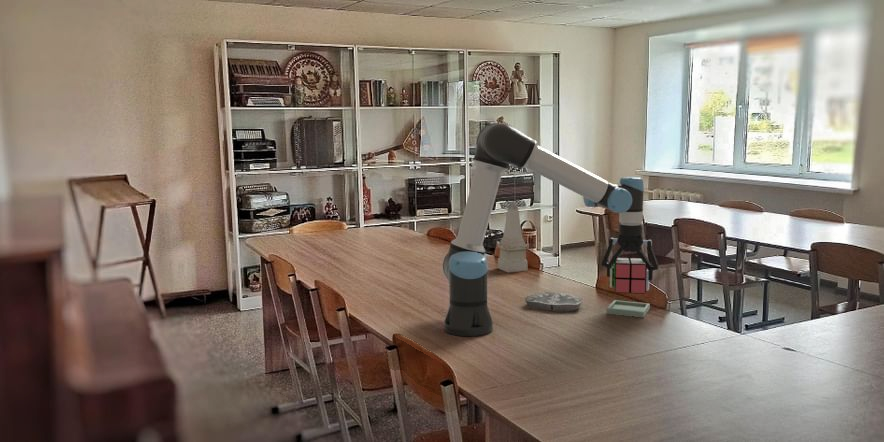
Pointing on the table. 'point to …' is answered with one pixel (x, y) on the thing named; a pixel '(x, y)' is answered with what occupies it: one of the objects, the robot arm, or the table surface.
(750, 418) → the table surface
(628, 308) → the coaster
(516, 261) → the miniature monument
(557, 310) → the brain slice
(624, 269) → the puzzle cube
